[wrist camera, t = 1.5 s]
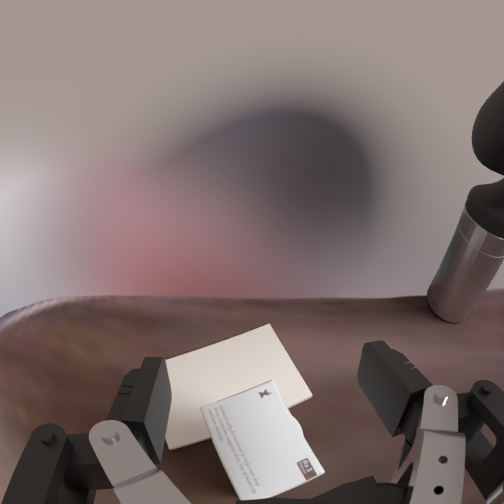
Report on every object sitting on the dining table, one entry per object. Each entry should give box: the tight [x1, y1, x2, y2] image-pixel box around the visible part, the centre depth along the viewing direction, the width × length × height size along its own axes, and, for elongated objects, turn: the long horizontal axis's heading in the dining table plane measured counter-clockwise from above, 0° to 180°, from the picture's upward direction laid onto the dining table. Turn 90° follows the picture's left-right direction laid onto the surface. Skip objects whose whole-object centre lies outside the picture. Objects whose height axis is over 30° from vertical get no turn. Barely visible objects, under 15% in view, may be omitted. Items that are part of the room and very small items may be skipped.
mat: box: [165, 324, 312, 450], centre depth 33 cm, size 18×12×1 cm, turn 113°
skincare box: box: [200, 379, 325, 500], centre depth 20 cm, size 8×6×15 cm
